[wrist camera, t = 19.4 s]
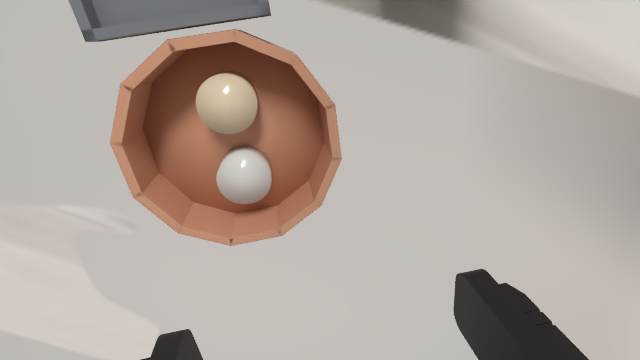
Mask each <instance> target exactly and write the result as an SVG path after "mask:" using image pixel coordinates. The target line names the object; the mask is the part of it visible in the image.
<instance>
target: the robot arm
mask: <svg viewBox="0 0 640 360" xmlns="http://www.w3.org/2000/svg"><path fill="white" fill-rule="evenodd" d="M454 316H455V319H456V322H457V325H458V327H459V329H460V331H461V333H462V334H463V336H464V338H465V339H466V340H467V342H468V344H469V345H470V347H471V348H472V350H473V351H474V353H475V355H476V356H477V358H478V359H479V360H589V359H588V358H587V357H586V356H584V354H583V353H582V352H581V351H580V350H579V349H578V348H577V347H576V346H575V345H574V344H573V343H572V342H571V341H570V340H569V339H568V338H567V337H566V336H565V335H564V334H563V333H562V332H561V331H560V330H559V329H558V328H557V327H556V326H555V325H552V321H550V319H548V317H547V316H546V315H545V314H544V313H543V312H540V310H539V308H538V307H537V306H536V305H535V304H534V303H533V302H532V301H531V300H530V299H529V298H528V297H527V296H526V295H525V294H524V293H522V292H520V291H519V290H517V289H515V288H514V287H512V286H510V285H508V284H507V283H503V284H498V283H497V282H496V281H495V280H494V279H493V278H492V277H491V275H490V274H489V273H488V272H487V271H485V270H484V269H479V270H474V271H469V272H464V273H460V274H457V276H456V281H455V298H454ZM141 360H203V358H202V356H201V353H200V351H199V349H198V347H197V344H196V342H195V340H194V337H193V335H192V333H191V331H190V330H189V329H186V330H181V331H176V332H172V333H167V334H162V335H160V336H159V337H158V339H157V341H156V344H155V347H154V349H153V352H152V355H151V357H150V358H145V359H141Z"/></svg>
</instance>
